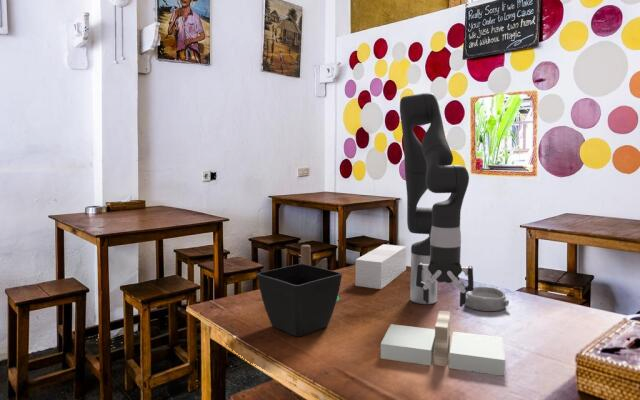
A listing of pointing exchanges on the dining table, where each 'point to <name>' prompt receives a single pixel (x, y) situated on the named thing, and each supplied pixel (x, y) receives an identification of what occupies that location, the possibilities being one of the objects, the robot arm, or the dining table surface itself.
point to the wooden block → (307, 257)
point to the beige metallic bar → (442, 338)
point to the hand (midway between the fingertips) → (444, 304)
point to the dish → (486, 299)
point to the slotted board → (464, 350)
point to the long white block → (380, 266)
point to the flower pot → (299, 297)
